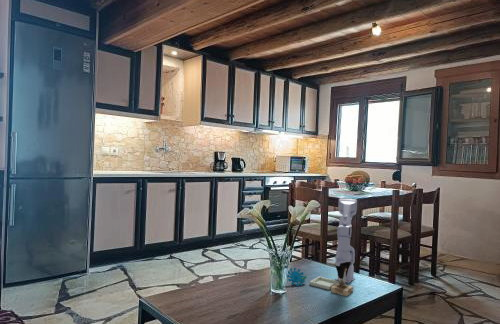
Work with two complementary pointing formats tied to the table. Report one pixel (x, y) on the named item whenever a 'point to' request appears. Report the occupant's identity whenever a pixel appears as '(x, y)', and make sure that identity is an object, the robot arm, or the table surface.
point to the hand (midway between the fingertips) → (342, 277)
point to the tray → (323, 282)
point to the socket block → (342, 289)
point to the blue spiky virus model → (296, 277)
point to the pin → (342, 281)
